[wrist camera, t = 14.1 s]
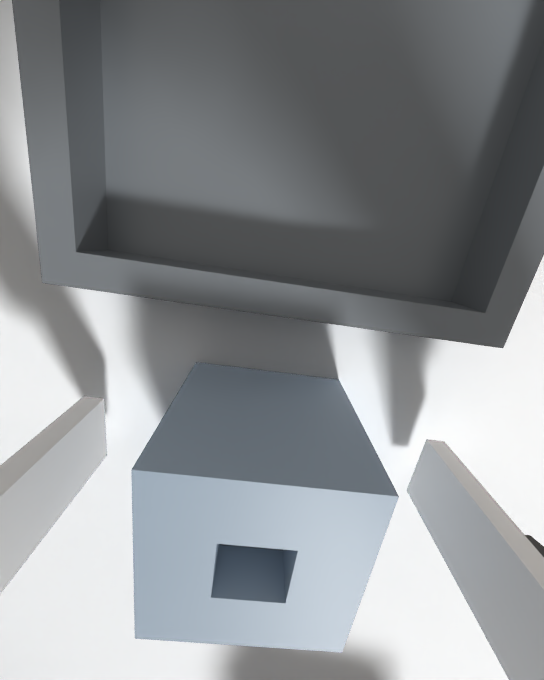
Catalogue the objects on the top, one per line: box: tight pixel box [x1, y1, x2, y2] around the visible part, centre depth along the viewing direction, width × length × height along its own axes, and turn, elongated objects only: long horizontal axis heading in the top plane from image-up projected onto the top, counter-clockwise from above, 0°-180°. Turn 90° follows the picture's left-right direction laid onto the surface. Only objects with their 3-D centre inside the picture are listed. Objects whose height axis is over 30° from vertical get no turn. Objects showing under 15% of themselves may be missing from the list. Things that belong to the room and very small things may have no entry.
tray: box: [12, 0, 544, 348], centre depth 8 cm, size 14×14×2 cm
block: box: [132, 362, 399, 653], centre depth 10 cm, size 6×6×6 cm
